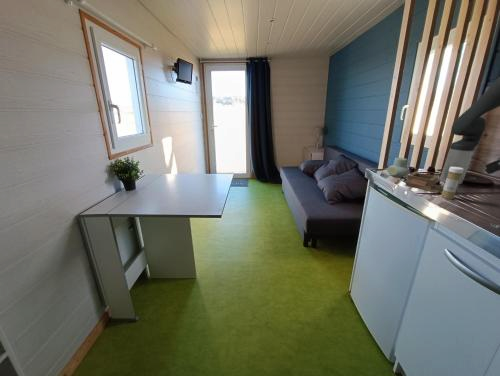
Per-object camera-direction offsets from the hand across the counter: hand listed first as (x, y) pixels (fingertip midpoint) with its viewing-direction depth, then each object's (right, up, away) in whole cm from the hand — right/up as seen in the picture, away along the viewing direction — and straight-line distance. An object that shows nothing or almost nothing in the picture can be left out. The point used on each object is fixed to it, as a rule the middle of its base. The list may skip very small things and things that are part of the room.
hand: (486, 169), depth 90 cm
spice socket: (-7, -7, +23) cm, 25 cm away
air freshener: (-9, 0, +41) cm, 42 cm away
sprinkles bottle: (-7, -11, +11) cm, 17 cm away
